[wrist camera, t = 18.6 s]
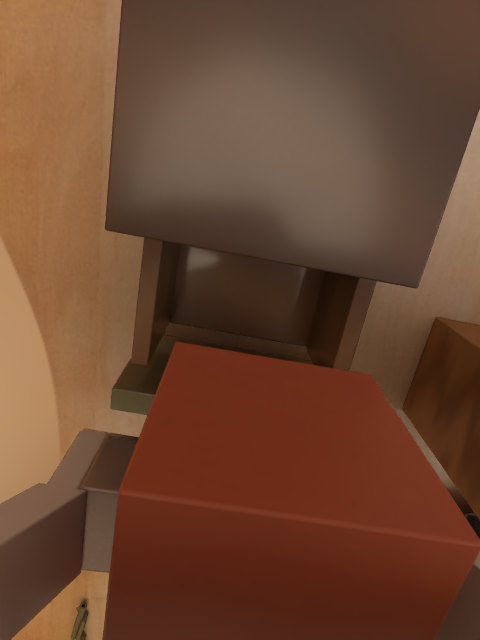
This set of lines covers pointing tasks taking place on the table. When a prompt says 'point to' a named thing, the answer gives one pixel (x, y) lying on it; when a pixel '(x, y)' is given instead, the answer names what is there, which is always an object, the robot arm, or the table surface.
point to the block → (280, 511)
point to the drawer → (236, 311)
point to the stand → (450, 403)
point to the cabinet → (294, 128)
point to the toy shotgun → (80, 623)
